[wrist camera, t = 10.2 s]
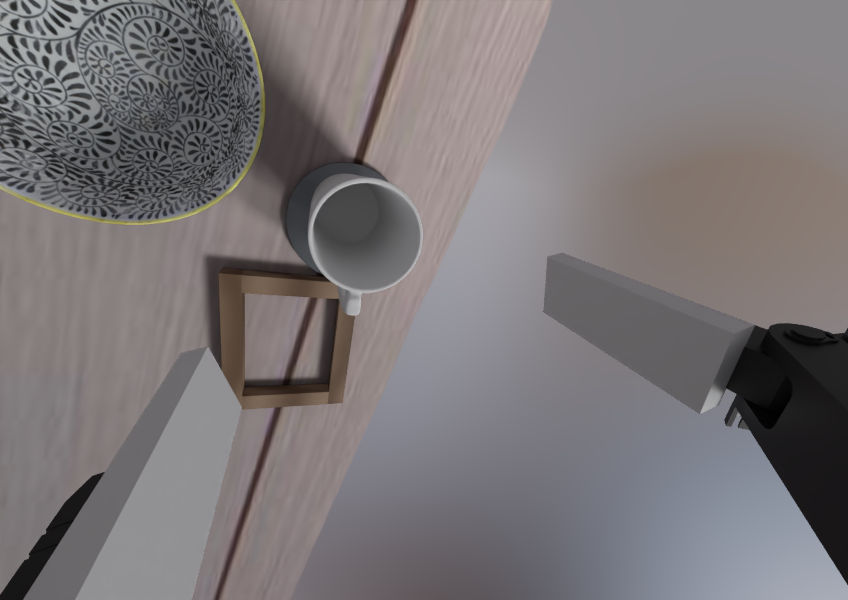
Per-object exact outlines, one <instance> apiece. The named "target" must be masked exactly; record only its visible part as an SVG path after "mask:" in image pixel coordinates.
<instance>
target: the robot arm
mask: <svg viewBox="0 0 848 600" xmlns="http://www.w3.org/2000/svg"><path fill="white" fill-rule="evenodd" d="M546 270H547V271H546V284H545V297H544V311H543V312H544V313H546V314H547V315H549V316H550V317H552V318H553V319H555V320H557V321H558V322H559V323H561V324H563V325H564V326H566V327H567V328H569V329H570V330H572V331H573V332H575V333H577V334H578V335H579V336H581V337H583V338H584V339H585V340H587V341H588V342H590V343H592V344H593V345H595V346H596V347H598V348H599V349H601V350H602V351H604V352H605V353H607V354H608V355H610V356H612V357H613V358H615V359H616V360H618V361H619V362H621V363H622V364H624V365H625V366H627V367H628V368H630V369H631V370H633V371H634V372H636V373H638V374H639V375H641V376H642V377H644V378H645V379H647V380H648V381H650V382H652V383H653V384H654V385H656V386H658V387H659V388H661V389H662V390H664V391H665V392H667V393H668V394H670V395H671V396H673V397H675V398H676V399H677V400H679V401H680V402H682V403H683V404H685V405H687V406H688V407H690V408H691V409H693V410H694V411H696V412H697V413H699V414H701V413H703V412H705V411H707V410H709V409H711V408H713V407H716V406H718V405H719V403H720V401H721V399H722V397H723V394H724V392H725V390H726V388H727V389H729V390H731V391H732V392H734V393H736V394H737V395H736V397H735V399H734V401H733V403H732V405H731V407H730V409H729V411H728V413H727V415H726V417H725V424H726V426H731V425H732V424H733V422H734V419H735V418H736V417H739V416H741V417H742V418H741V420H740V422H739V424H738V428H742V429H748V430H750V431H751V433H752V434H753V436H754V438H755V439H756V441H757V442H758V444H759V445H760V447H761V448H762V450H763V452H764V453H765V455H766V456H767V458H768V460H769V461H770V463H771V464H772V466H773V468H774V469H775V471H776V472H777V474H778V475H779V477H780V478H781V480H782V482H783V483H784V485H785V486H786V488H787V490H788V491H789V493H790V494H791V496H792V498H793V499H794V501H795V502H796V504H797V506H798V507H799V508H800V510H801V512H802V513H803V515H804V517H805V518H806V520H807V521H808V523H809V525H810V526H811V528H812V529H813V531H814V532H815V534H816V536H817V537H818V539H819V540H820V542H821V543H822V545H823V546H824V548H825V550H826V551H827V553H828V555H829V556H830V558H831V559H832V561H833V562H834V564H835V566H836V567H837V569H838V570H839V572H840V573H841V575H842V577H843V578H844V580H845V581H846V583H847V585H848V328H847V330H846V332H845V333H839V334H832V333H830V332H826V331H823V330H820V329H817V328H813V327H809V326H804V325H798V324H788V323H785V324H775V325H772V326H770V327H769V329H768V330H767V329H764V328H761V327H758V326H756V325H754V324H751V323H748V322H746V321H743V320H741V319H738V318H735V317H733V316H730V315H727V314H725V313H722V312H719V311H716V310H714V309H711V308H709V307H706V306H703V305H700V304H698V303H695V302H692V301H690V300H687V299H684V298H682V297H679V296H676V295H674V294H671V293H668V292H665V291H663V290H660V289H658V288H655V287H652V286H650V285H647V284H644V283H642V282H639V281H636V280H633V279H631V278H628V277H625V276H623V275H620V274H617V273H615V272H612V271H609V270H606V269H604V268H601V267H598V266H596V265H593V264H590V263H588V262H585V261H582V260H580V259H577V258H575V257H572V256H569V255H566V254H564V253H560V254H556V255H552V256H548V257H547V269H546ZM241 409H242V406H241V405H240V403H239V401H238V399H237V397H236V396H235V394H234V392H233V390H232V388H231V387H230V385H229V383H228V381H227V379H226V378H225V376H224V374H223V372H222V370H221V369H220V367H219V365H218V363H217V361H216V360H215V358H214V356H213V354H212V352H211V351H210V349H209V347H208V346H207V347H203V348H199V349H195V350H192V351H188V352H184V353H181V354H180V356H179V358H178V359H177V361H176V362H175V364H174V365H173V367H172V368H171V370H170V372H169V373H168V375H167V376H166V378H165V379H164V381H163V383H162V384H161V386H160V387H159V389H158V390H157V392H156V393H155V395H154V397H153V398H152V400H151V401H150V403H149V404H148V406H147V407H146V409H145V411H144V412H143V414H142V415H141V417H140V418H139V420H138V421H137V423H136V425H135V426H134V428H133V429H132V431H131V432H130V434H129V435H128V437H127V439H126V440H125V442H124V443H123V445H122V446H121V448H120V450H119V451H118V453H117V454H116V456H115V457H114V459H113V460H112V462H111V464H110V465H109V467H108V468H107V470H106V471H105V472H103V473H100V474H97V475H94V476H92V477H91V478H90V479H89V480H88V481H86V482H85V483H84V484H83V485H82V486H81V487H80V488H79V489H78V490H77V491H76V492H75V493H74V494H73V495H72V496H71V497H70V498H69V499H68V500H67V501H66V502H65V503H64V505H63V506H62V507H61V509H60V510H59V512H58V513H57V515H56V516H55V517H54V519H53V520H52V522H51V523H50V525H49V526H48V527H47V529H46V531H47V532H46V534H45V535H42V536H41V537H40V539H39V540H38V542H37V543H36V545H35V546H34V547H33V549H32V550H31V552H30V553H29V555H30V557H29V559H27V560H24V562H23V563H22V565H21V566H20V567H19V569H18V570H17V572H16V573H15V575H14V576H13V577H12V579H11V580H10V582H9V583H8V584H7V586H6V587H5V589H4V590H3V592H2V593H1V594H0V600H192V597H193V593H194V589H195V586H196V582H197V578H198V574H199V570H200V566H201V563H202V559H203V555H204V551H205V547H206V543H207V539H208V536H209V532H210V528H211V524H212V520H213V516H214V513H215V509H216V505H217V501H218V497H219V493H220V489H221V486H222V482H223V478H224V474H225V470H226V466H227V463H228V459H229V455H230V451H231V447H232V443H233V439H234V436H235V432H236V428H237V424H238V420H239V416H240V413H241Z"/></svg>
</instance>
